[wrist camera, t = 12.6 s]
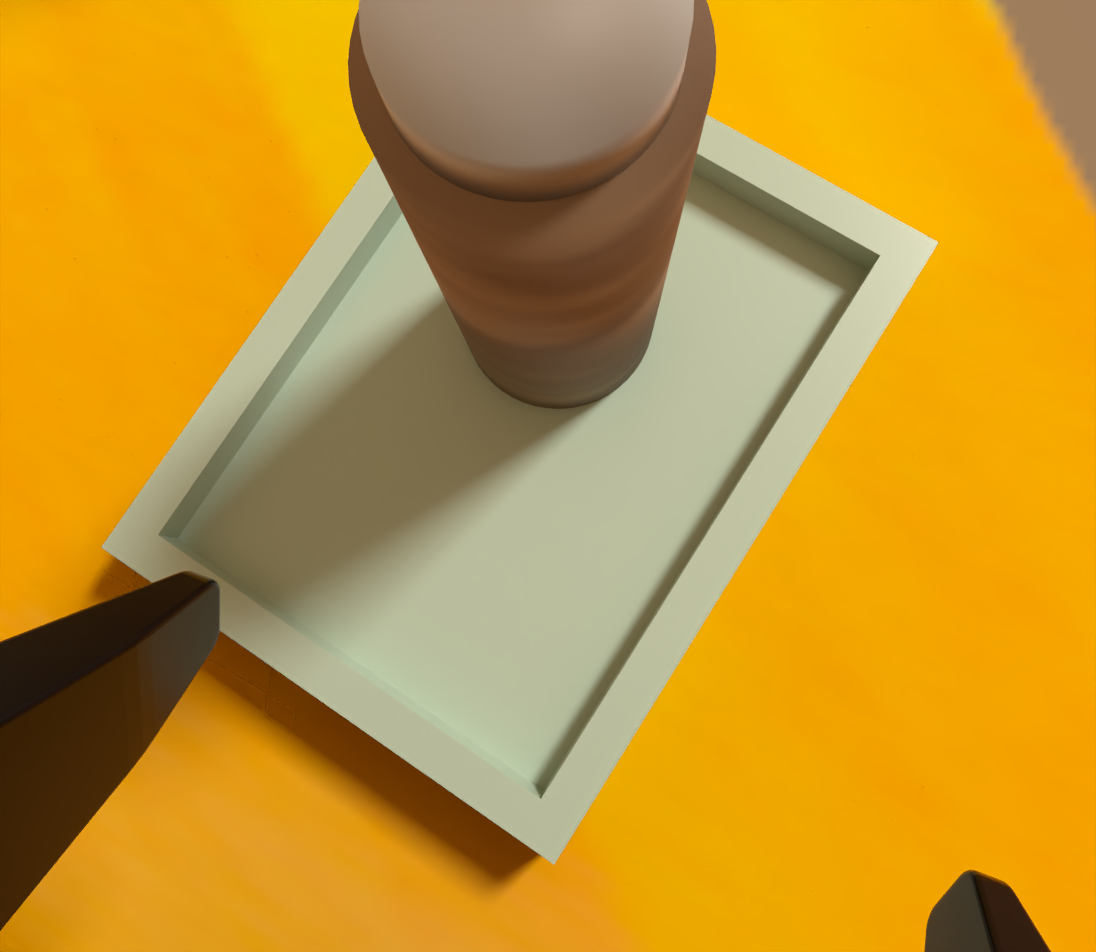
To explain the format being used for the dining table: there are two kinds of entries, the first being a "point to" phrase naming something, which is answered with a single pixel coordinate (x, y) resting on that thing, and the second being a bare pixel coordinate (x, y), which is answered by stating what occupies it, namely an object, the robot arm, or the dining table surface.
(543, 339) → the pepper mill
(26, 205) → the dining table surface
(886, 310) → the tray
